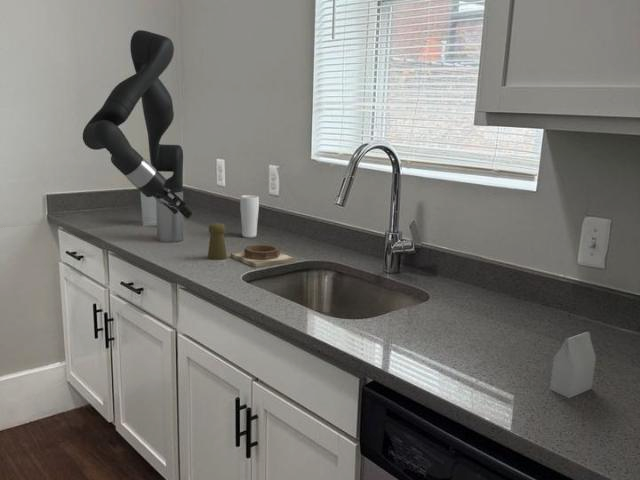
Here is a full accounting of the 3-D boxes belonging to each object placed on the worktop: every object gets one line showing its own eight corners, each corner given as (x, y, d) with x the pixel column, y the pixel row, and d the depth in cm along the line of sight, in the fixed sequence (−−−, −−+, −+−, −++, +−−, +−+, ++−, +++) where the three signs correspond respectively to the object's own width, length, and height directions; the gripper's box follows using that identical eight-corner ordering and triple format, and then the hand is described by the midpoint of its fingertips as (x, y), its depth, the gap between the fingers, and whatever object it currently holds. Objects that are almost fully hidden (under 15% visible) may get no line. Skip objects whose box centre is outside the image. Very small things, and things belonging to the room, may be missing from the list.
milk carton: (591, 388, 102) (599, 335, 100) (569, 398, 98) (576, 343, 96) (572, 380, 105) (579, 328, 103) (549, 389, 101) (556, 335, 99)
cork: (222, 260, 179) (222, 225, 177) (204, 259, 181) (204, 224, 178) (229, 256, 185) (229, 222, 183) (211, 254, 186) (211, 221, 184)
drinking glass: (236, 237, 213) (236, 196, 210) (245, 233, 219) (246, 194, 216) (253, 239, 211) (253, 198, 207) (261, 235, 217) (262, 196, 213)
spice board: (230, 257, 184) (230, 246, 183) (267, 251, 193) (268, 241, 192) (255, 267, 173) (255, 256, 172) (294, 261, 181) (294, 250, 180)
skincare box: (164, 223, 234) (163, 186, 230) (163, 226, 228) (162, 188, 225) (142, 223, 232) (141, 186, 229) (141, 226, 226) (140, 188, 223)
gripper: (163, 169, 159) (202, 208, 168) (144, 165, 170) (181, 201, 179) (145, 190, 157) (185, 227, 166) (126, 183, 168) (165, 219, 177)
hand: (183, 213), depth 173 cm, fingers open, 8 cm apart
